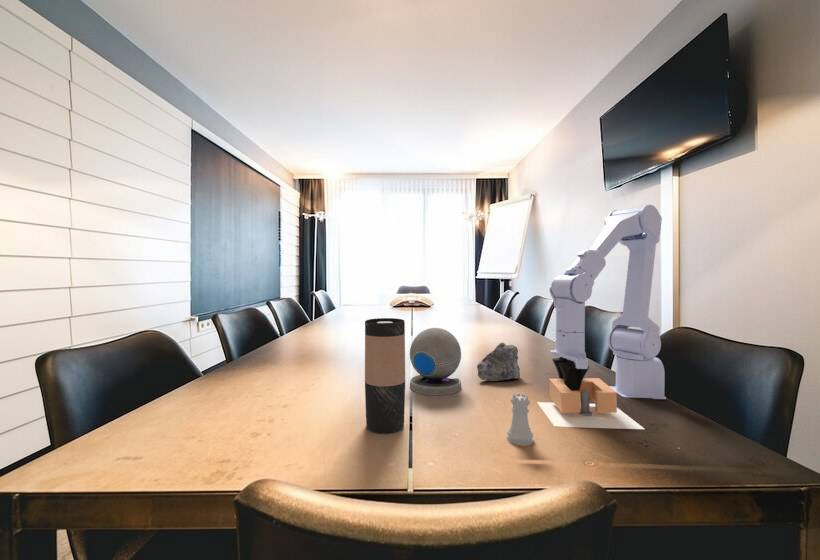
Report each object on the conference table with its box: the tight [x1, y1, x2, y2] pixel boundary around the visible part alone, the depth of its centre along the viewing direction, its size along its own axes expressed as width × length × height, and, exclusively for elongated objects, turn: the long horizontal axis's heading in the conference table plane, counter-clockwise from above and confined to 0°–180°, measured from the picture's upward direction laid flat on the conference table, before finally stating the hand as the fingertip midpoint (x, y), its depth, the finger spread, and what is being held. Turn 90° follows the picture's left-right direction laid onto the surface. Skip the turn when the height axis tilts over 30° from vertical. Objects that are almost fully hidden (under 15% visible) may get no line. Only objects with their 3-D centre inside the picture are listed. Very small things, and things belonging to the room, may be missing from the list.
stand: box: [536, 390, 645, 430], centre depth 75 cm, size 16×13×5 cm
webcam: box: [409, 327, 462, 396], centre depth 95 cm, size 13×13×15 cm
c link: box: [548, 377, 618, 413], centre depth 77 cm, size 8×10×4 cm
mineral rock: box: [476, 342, 521, 382], centre depth 102 cm, size 13×11×10 cm
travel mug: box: [364, 317, 406, 435], centre depth 71 cm, size 8×8×20 cm
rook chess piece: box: [506, 393, 534, 446], centre depth 64 cm, size 4×4×8 cm
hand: (569, 394), depth 81 cm, fingers closed on c link, 2 cm apart
